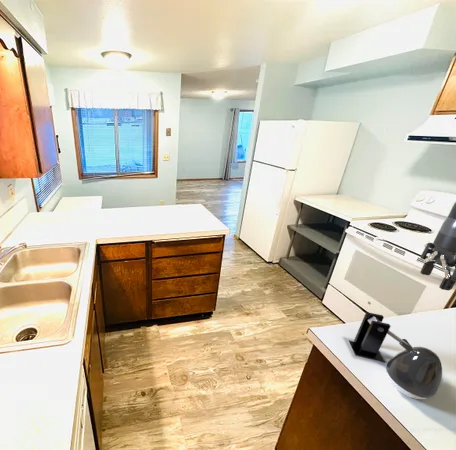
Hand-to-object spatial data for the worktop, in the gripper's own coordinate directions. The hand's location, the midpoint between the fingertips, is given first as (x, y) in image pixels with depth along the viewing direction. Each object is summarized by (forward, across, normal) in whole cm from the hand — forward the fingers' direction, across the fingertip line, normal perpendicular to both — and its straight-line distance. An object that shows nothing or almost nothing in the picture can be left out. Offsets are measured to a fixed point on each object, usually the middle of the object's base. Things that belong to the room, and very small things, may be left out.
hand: (433, 281), depth 74 cm
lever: (+18, -8, +10) cm, 22 cm away
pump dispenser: (+26, -19, +8) cm, 33 cm away
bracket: (+26, -8, +14) cm, 31 cm away
